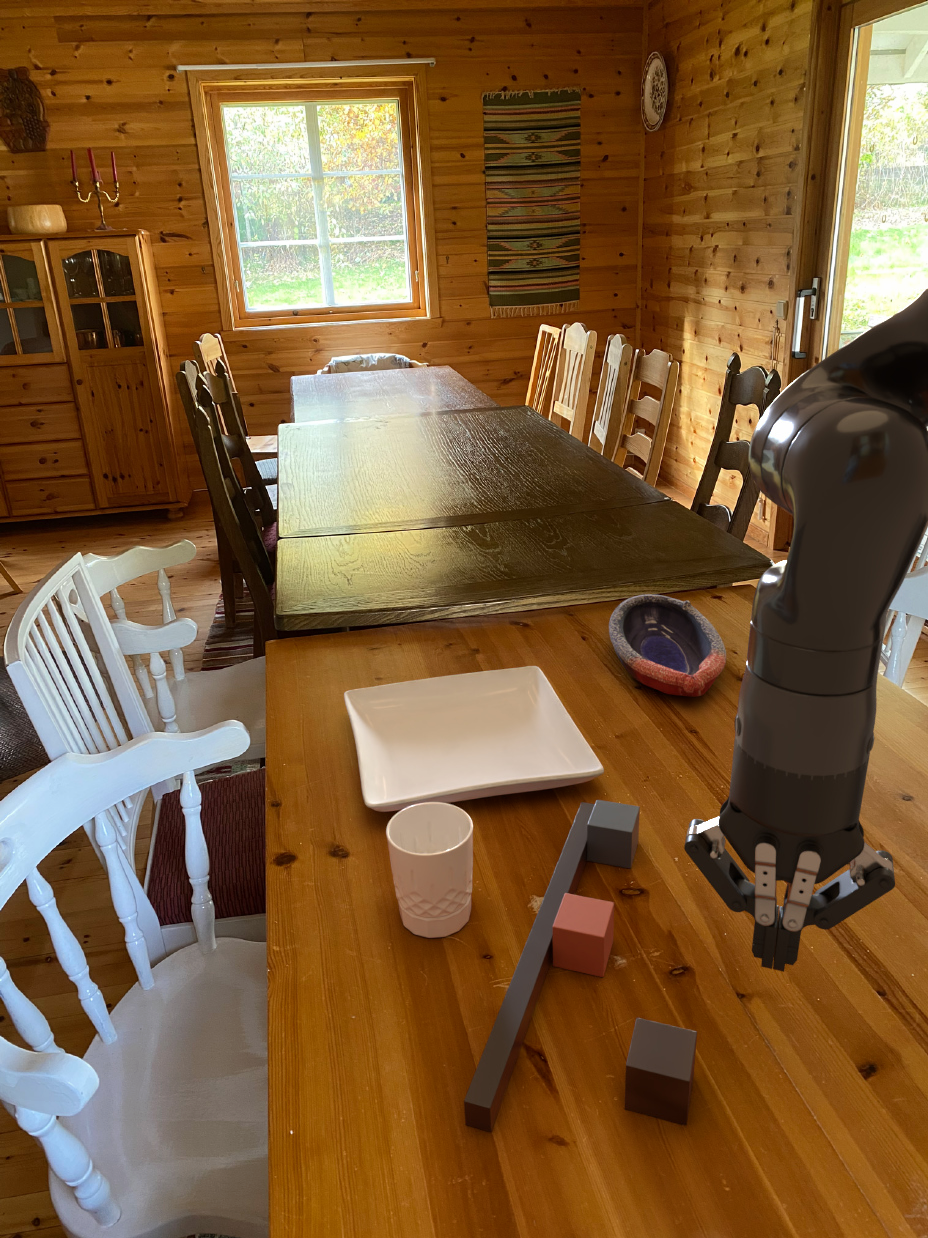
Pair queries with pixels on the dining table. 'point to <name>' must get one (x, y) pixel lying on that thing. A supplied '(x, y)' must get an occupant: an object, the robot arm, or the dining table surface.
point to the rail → (525, 985)
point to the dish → (667, 644)
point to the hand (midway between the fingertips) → (772, 960)
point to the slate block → (613, 833)
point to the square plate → (465, 738)
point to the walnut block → (660, 1070)
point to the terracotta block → (583, 934)
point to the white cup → (432, 867)
